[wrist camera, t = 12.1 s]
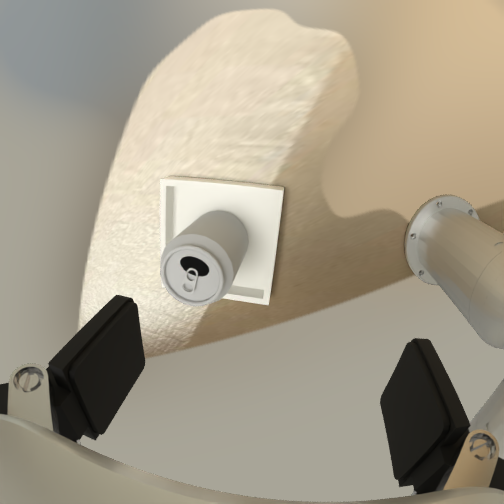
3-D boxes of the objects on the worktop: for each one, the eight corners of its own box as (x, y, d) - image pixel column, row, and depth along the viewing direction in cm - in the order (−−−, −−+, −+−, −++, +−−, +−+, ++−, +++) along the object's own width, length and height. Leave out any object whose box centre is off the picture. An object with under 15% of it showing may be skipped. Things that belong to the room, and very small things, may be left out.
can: (257, 221, 36) (240, 257, 25) (239, 272, 39) (217, 324, 28) (201, 200, 37) (161, 227, 25) (186, 253, 39) (147, 296, 28)
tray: (284, 186, 35) (283, 190, 32) (270, 294, 40) (268, 305, 38) (170, 175, 36) (160, 178, 34) (169, 277, 42) (161, 287, 39)
